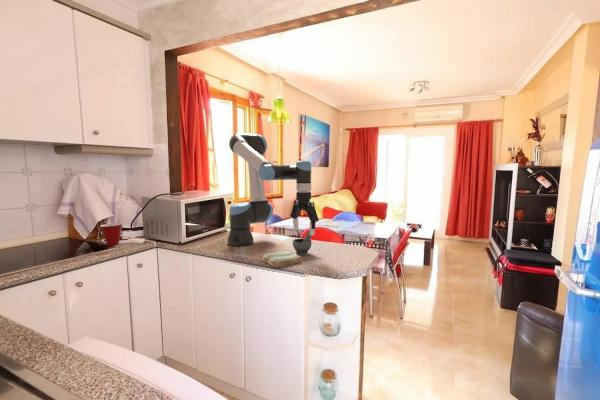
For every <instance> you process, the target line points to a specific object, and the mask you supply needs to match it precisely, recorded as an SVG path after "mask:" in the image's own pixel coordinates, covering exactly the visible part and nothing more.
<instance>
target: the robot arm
mask: <svg viewBox="0 0 600 400" xmlns="http://www.w3.org/2000/svg"><path fill="white" fill-rule="evenodd" d="M228 144H229V149H230V151H232V153H233V154H234V155H236V156H237V157H239V156H240V158H242V159H243V160H244V161H245V162H246V163H247V166H248V167H247V168H248V177H249V188H250V199H249V201H248V202H247V201H246V202H236V203H233V204H231V205H230V207H229V212H228V213H229V233H228V236H227V243H226V244H227V245H228V246H231V247H244V246H245V247H246V246H250V245H253V244H254V236H253V232H252V230H251V225H252V224H253V225H254V224H260V223H267V222H269V221H270V220H271V219H272V217H273V214H274V208H273V205H272V204H271V203H270V202H269V199H267V198H266V193H265V192H266V190H265V181H268V182H270V181H282V180H283V181H285V180H286V181H287V180H291V181H293V180H295V181H296V184H295V186H296V188H295V189H296V190H295V191H296V195H295V197H296V200H295V199H294V200H293V206H292V209H291V212H290V218H292V224H293V232H297V231H299V216H300V214H301V211H304V212H305V213H306V215H307V217H308V219H309V220H310V221H309V230H310V236H311V237H312V236H315V235H316V223H317V222H319V221H320V220H319V217H318V213H317V211H316V207H315V201H310V200H311V199H312V192H311V191H312V163H311V161H309V160H297V161H296V162H295V163H296V164H295V165H293V164H291V165H290V164H287V165H285V164H284V165H283V164H282V165H281V164H273V163H272V162H270V161H269V160H268V159H267V158H265V157H264V156H265V153H266V152H267V150H268V142H267V140H266V138H265V137H264V136H263V135H262V134H257V133H246V132H245V133H244V132H238V133H235V134H233V135H232V136H231V137H230V139H229V143H228Z"/></svg>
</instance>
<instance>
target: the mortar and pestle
mask: <svg viewBox="0 0 600 400" xmlns="http://www.w3.org/2000/svg"><path fill="white" fill-rule="evenodd" d="M311 238H312V236H310V229H309V230H307V234H306V235H305V237H304V238H294V239H292V246H293V248H294V250H295V251H296V252H295V254H296V255H298V256H302V255H303V256H308V254H309V253H308V251H310V249H311V247H312V240H311Z"/></svg>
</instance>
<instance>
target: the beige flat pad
mask: <svg viewBox="0 0 600 400" xmlns="http://www.w3.org/2000/svg"><path fill="white" fill-rule="evenodd" d="M259 257H260V261H262V262H264V263H266V264H268V265H270V266H272V267H274V268H275V269H277V268H281V267H285V266H290V265H293V264H298V263H302V255H297V254H296V253H294V252H290V251H288V250H286V249H282V250H278V251H271V252H267V253H263V254H260V256H259Z"/></svg>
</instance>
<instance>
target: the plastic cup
mask: <svg viewBox="0 0 600 400" xmlns="http://www.w3.org/2000/svg"><path fill="white" fill-rule="evenodd" d="M99 226H100V228H101V230H102V233H103V236H104V240H105V243H106V246H109V247H110V246H117V245H119V243H120V239H121V233H122V226H123V222H114V223H113V222H112V223H106V224H101V225H99Z"/></svg>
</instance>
